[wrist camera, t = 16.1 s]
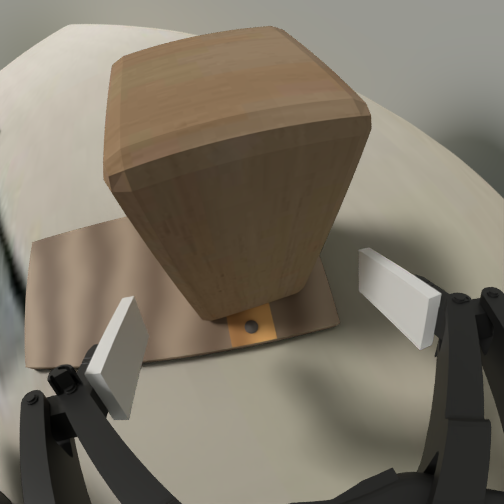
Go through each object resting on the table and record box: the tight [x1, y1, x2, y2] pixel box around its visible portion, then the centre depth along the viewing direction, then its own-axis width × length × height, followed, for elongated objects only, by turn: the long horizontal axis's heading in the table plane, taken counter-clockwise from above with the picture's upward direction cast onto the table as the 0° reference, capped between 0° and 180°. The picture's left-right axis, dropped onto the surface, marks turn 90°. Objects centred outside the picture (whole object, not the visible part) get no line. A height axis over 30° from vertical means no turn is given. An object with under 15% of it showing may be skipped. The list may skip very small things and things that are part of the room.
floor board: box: [25, 217, 340, 369], centre depth 28 cm, size 34×16×2 cm, turn 102°
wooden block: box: [103, 26, 371, 321], centre depth 19 cm, size 10×10×20 cm
